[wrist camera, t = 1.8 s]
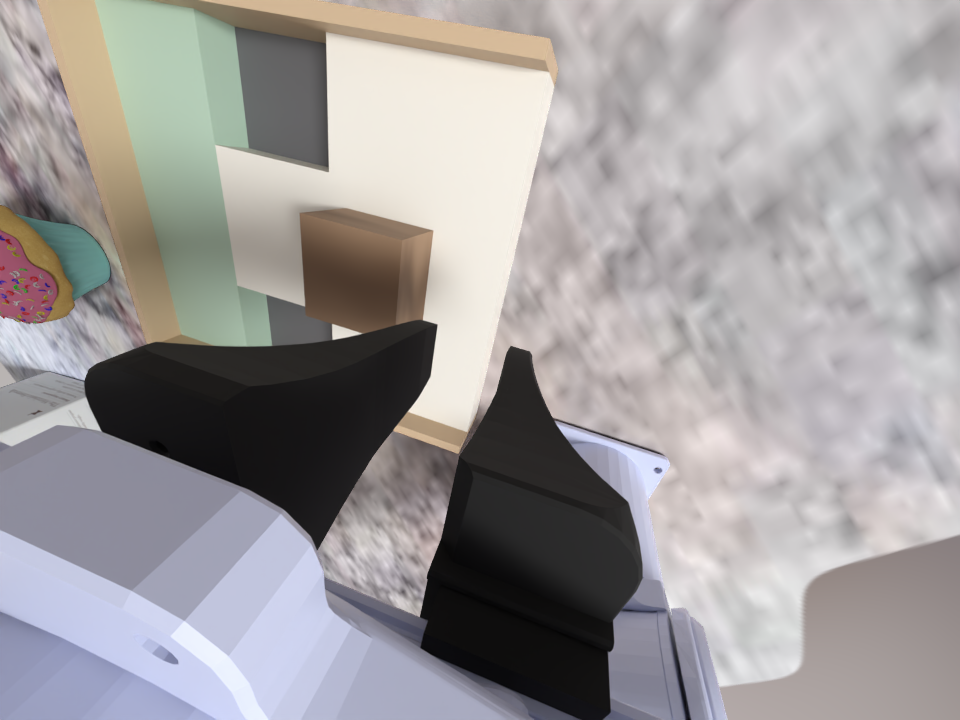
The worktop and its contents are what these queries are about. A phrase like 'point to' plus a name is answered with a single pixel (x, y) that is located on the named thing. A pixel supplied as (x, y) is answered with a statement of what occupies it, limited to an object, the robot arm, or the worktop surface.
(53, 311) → the cupcake
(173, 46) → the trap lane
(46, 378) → the supplement box
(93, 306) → the worktop surface
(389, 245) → the walnut block
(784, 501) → the worktop surface
